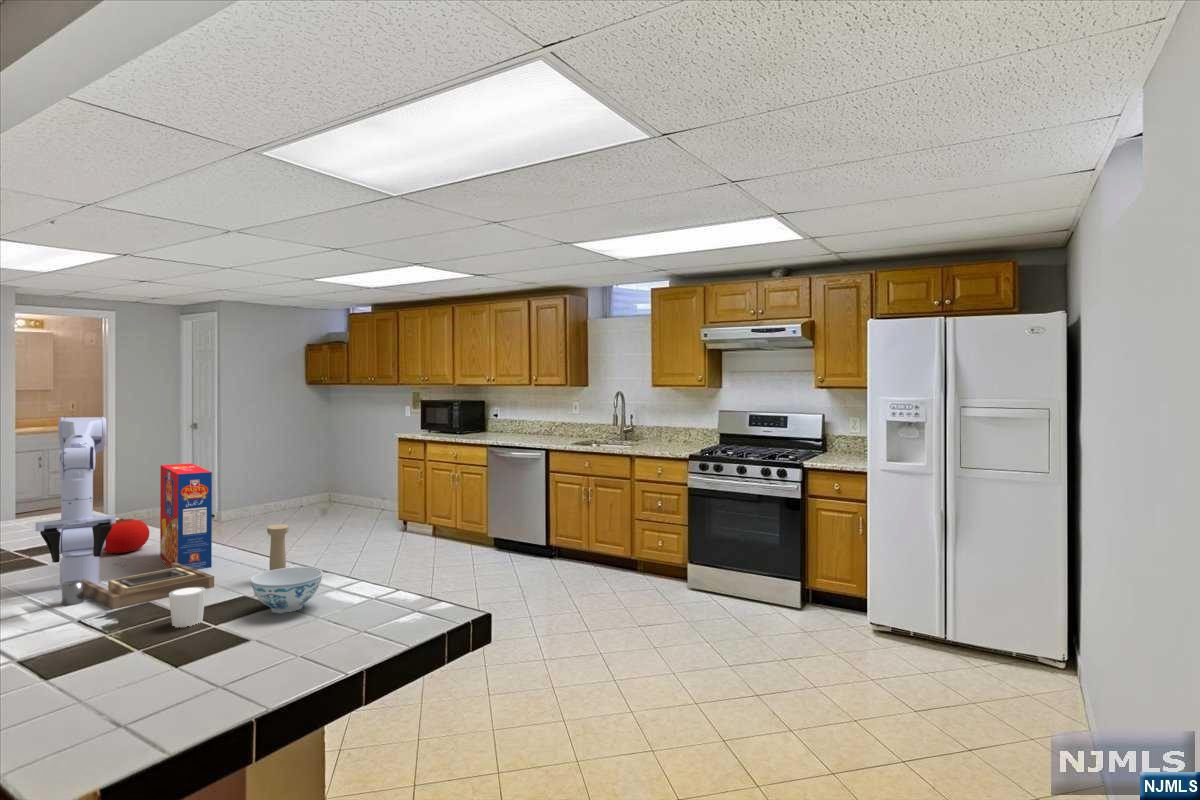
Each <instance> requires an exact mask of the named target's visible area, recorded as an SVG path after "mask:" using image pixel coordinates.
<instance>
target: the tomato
mask: <svg viewBox="0 0 1200 800" xmlns="http://www.w3.org/2000/svg"><path fill="white" fill-rule="evenodd" d="M110 525H112V529H111V530H110V532H109V534H108V535H107V537H106V546H105V548H103V550H102V552H104V553H108V554H113V553H117V554H124V553H129V552H133V551H137V550H138V549H141V548H142V547H143V546H144V545H146V543H147V542H148V540H149V539H150V528H149V526H148V525H147V523H145V522H144V521H142V520H140V519H135V518H119V519H116V523H114V524H110Z"/></svg>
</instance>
